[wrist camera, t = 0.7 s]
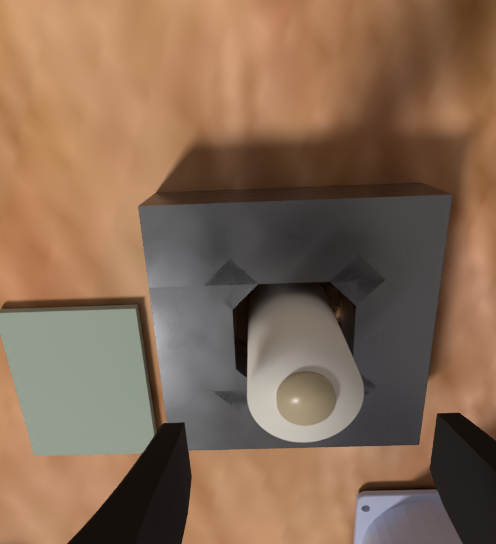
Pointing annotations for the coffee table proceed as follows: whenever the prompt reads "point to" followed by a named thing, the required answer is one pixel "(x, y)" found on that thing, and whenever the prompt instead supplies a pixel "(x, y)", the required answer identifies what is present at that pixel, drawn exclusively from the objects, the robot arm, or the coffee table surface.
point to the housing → (295, 269)
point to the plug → (299, 364)
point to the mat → (80, 378)
